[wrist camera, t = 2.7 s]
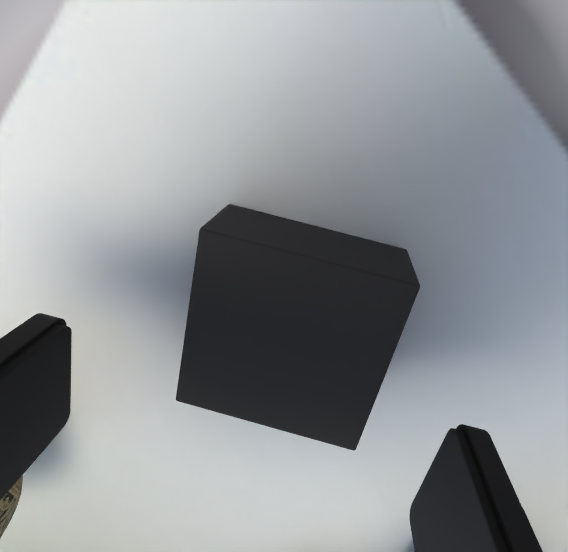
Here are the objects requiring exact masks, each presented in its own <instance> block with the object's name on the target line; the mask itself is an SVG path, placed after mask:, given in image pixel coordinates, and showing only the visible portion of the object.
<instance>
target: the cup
mask: <svg viewBox="0 0 568 552" xmlns="http://www.w3.org/2000/svg"><path fill="white" fill-rule="evenodd" d="M22 482H23V476H21V477H20V478H19V479H18V481H17V482H16V483H15V484H14V485H13V486H12V488H11V489H10V490H9V491H8V492H7V493H6V495H5V496H4V497H3V498H2V499H1V500H0V538H1V536H2V535H3V533H4V531H5V529H6V528H7V526H8V524H9V522H10V520H11V518H12V516H13V514H14V512H15V510H16V508H17V505H18V501H19V498H20V495H21V490H22Z"/></svg>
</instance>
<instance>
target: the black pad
mask: <svg viewBox="0 0 568 552" xmlns="http://www.w3.org/2000/svg"><path fill="white" fill-rule="evenodd" d="M419 288H420V284H419V282H418V279H417V276H416V274H415V271H414V268H413V266H412V263H411V260H410V258H409V255H408V252H407V250H405V249H402V248H398V247H394V246H390V245H386V244H382V243H378V242H375V241H371V240H367V239H363V238H359V237H355V236H351V235H347V234H343V233H339V232H336V231H332V230H328V229H324V228H320V227H316V226H312V225H308V224H304V223H300V222H297V221H293V220H289V219H285V218H281V217H277V216H273V215H269V214H265V213H261V212H257V211H254V210H250V209H246V208H242V207H238V206H234V205H227V206H226V207H225V208H224V209H223V210H222V211H220V212H219V213H218V214H217V215H216V216H214V217H213V218H212V219H211V220H210V221H209V222H207V223H206V224H205V225H204V226H203V227H202V228H201V229H200V232H199V239H198V246H197V253H196V260H195V267H194V274H193V281H192V288H191V295H190V302H189V310H188V317H187V324H186V331H185V338H184V345H183V352H182V359H181V366H180V373H179V380H178V388H177V395H176V400H177V401H179V402H183V403H187V404H190V405H194V406H197V407H201V408H204V409H208V410H212V411H215V412H219V413H222V414H226V415H229V416H233V417H236V418H240V419H244V420H247V421H251V422H254V423H258V424H261V425H265V426H268V427H272V428H276V429H279V430H283V431H286V432H290V433H293V434H297V435H300V436H304V437H308V438H311V439H315V440H318V441H322V442H325V443H329V444H332V445H336V446H340V447H343V448H347V449H350V450H356V448H357V445H358V443H359V440H360V437H361V435H362V432H363V430H364V427H365V425H366V422H367V420H368V417H369V415H370V412H371V410H372V407H373V405H374V402H375V400H376V397H377V394H378V392H379V389H380V387H381V384H382V382H383V379H384V377H385V374H386V372H387V369H388V367H389V364H390V362H391V359H392V356H393V354H394V351H395V349H396V346H397V344H398V341H399V339H400V336H401V334H402V331H403V329H404V326H405V324H406V321H407V319H408V316H409V313H410V311H411V308H412V306H413V303H414V301H415V298H416V296H417V293H418V291H419Z"/></svg>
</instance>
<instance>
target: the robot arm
mask: <svg viewBox="0 0 568 552" xmlns="http://www.w3.org/2000/svg"><path fill="white" fill-rule="evenodd" d="M70 397H71V329H70V327H67V326H66V322H65V320H63V319H61V318H57V317H53V316H50V315H46V314H42V313H38V314H36V315H34V316H33V317H31V318H30V319H28V320H27V321H25V322H24V323H22V324H21V325H20V326H18V327H17V328H15V329H14V330H12V331H11V332H9V333H8V334H6V335H5V336H4V337H2V338H1V339H0V500H1V499H2V498H3V497H4V496H5V495H6V493H7V492H8V491H9V490H10V489H11V488H12V486H13V485H14V484H15V483H16V482H17V481H18V479H19V478H20V477H21V476H22V475H23V474H24V472H25V471H26V470H27V469H28V468H29V467H30V465H31V464H32V463H33V462H34V461H35V460H36V458H37V457H38V456H39V455H40V454H41V453H42V452H43V450H44V449H45V448H46V447H47V446H48V445H49V443H50V442H51V441H52V440H53V439H54V438H55V436H56V435H57V434H58V433H59V432H60V431H61V429H62V428H63V427H64V426H65V424H66V422H67V421H68V418H69V415H70ZM410 525H411V531H412V537H413V543H414V549H415V552H543V551H542V549H541V547H540V545H539V543H538V540H537V538H536V536H535V534H534V531H533V529H532V527H531V525H530V522H529V520H528V518H527V516H526V514H525V511H524V510H523V508H522V506H521V504H520V502H519V499H518V497H517V495H516V493H515V490H514V488H513V486H512V484H511V482H510V479H509V477H508V475H507V473H506V470H505V468H504V466H503V464H502V461H501V459H500V457H499V455H498V453H497V450H496V448H495V446H494V444H493V441H492V439H491V437H490V435H489V433H488V432H487V431H485V430H482V429H478V428H474V427H471V426H467V425H463V424H461V425H459V426H458V427H457V428H456V429H454V428H451V429H450V430H449V431H448V433H447V435H446V437H445V439H444V441H443V443H442V445H441V447H440V449H439V451H438V453H437V455H436V457H435V459H434V461H433V463H432V465H431V467H430V469H429V471H428V473H427V475H426V477H425V479H424V481H423V483H422V485H421V487H420V489H419V491H418V493H417V495H416V497H415V499H414V501H413V503H412V505H411V509H410Z"/></svg>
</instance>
